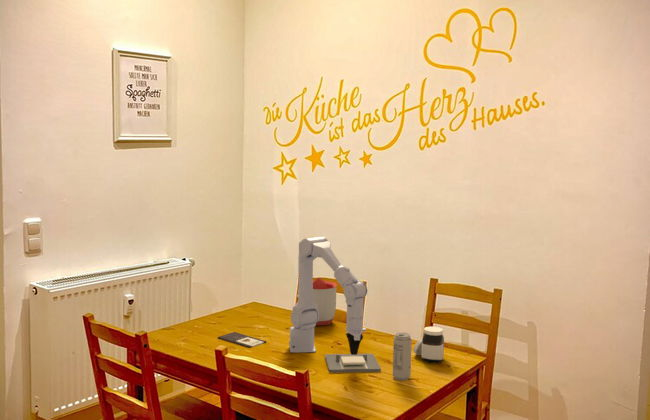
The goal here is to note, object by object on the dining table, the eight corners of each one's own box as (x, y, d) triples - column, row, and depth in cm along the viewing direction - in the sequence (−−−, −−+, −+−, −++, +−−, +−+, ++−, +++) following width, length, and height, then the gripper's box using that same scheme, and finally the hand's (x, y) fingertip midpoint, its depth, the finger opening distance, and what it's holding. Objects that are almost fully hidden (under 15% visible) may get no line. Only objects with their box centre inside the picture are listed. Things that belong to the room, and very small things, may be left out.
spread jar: (440, 365, 236) (441, 334, 235) (409, 361, 240) (410, 330, 238) (446, 355, 247) (447, 325, 246) (416, 351, 251) (417, 321, 250)
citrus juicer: (295, 317, 294) (296, 273, 292) (334, 317, 296) (334, 273, 294) (297, 328, 279) (298, 281, 276) (338, 327, 281) (339, 281, 278)
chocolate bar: (234, 331, 270) (266, 341, 258) (234, 334, 270) (266, 343, 259) (217, 336, 263) (249, 346, 252) (217, 339, 263) (249, 349, 252)
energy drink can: (413, 379, 222) (415, 336, 220) (397, 382, 219) (398, 338, 218) (405, 373, 227) (406, 331, 225) (389, 375, 225) (390, 333, 223)
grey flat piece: (329, 372, 227) (329, 364, 227) (324, 357, 243) (325, 349, 242) (380, 371, 229) (381, 363, 228) (373, 356, 244) (373, 348, 244)
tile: (340, 356, 236) (340, 358, 236) (343, 362, 229) (343, 364, 229) (362, 356, 237) (362, 358, 237) (365, 362, 230) (365, 364, 230)
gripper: (369, 322, 223) (368, 361, 224) (363, 310, 237) (361, 347, 239) (348, 322, 222) (347, 361, 224) (343, 310, 237) (342, 347, 238)
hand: (353, 354), depth 231 cm, fingers closed
